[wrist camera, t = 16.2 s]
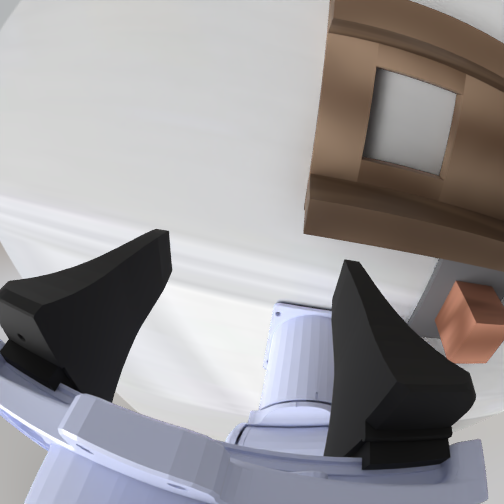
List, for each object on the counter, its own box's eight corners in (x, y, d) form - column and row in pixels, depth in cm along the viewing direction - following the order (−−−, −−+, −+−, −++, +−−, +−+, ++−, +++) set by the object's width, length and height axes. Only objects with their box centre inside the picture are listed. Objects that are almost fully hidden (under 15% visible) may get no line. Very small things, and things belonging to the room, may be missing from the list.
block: (470, 323, 22) (485, 363, 18) (434, 320, 23) (448, 363, 19) (491, 286, 20) (513, 325, 16) (455, 280, 20) (476, 323, 16)
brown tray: (536, 256, 18) (562, 291, 13) (304, 203, 20) (301, 241, 16) (578, 117, 10) (616, 134, 6) (329, 0, 12) (336, -27, 8)
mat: (473, 336, 24) (474, 340, 23) (403, 330, 25) (404, 335, 24) (515, 266, 19) (517, 269, 18) (443, 249, 20) (445, 253, 19)
